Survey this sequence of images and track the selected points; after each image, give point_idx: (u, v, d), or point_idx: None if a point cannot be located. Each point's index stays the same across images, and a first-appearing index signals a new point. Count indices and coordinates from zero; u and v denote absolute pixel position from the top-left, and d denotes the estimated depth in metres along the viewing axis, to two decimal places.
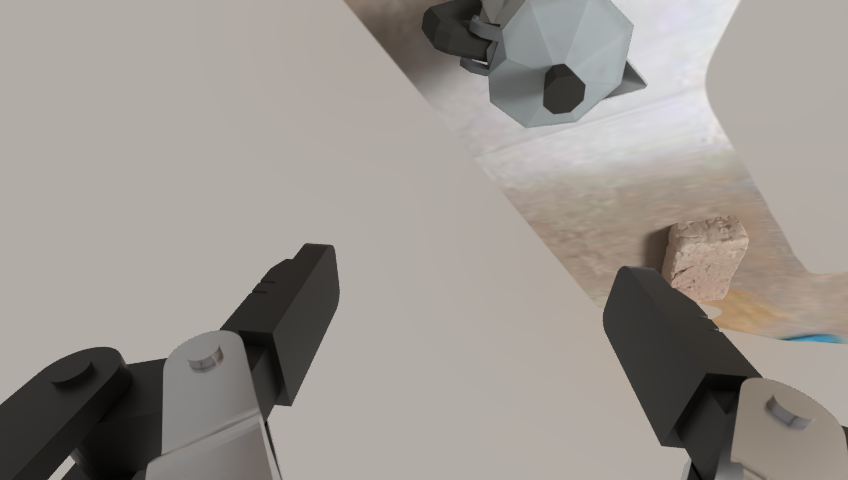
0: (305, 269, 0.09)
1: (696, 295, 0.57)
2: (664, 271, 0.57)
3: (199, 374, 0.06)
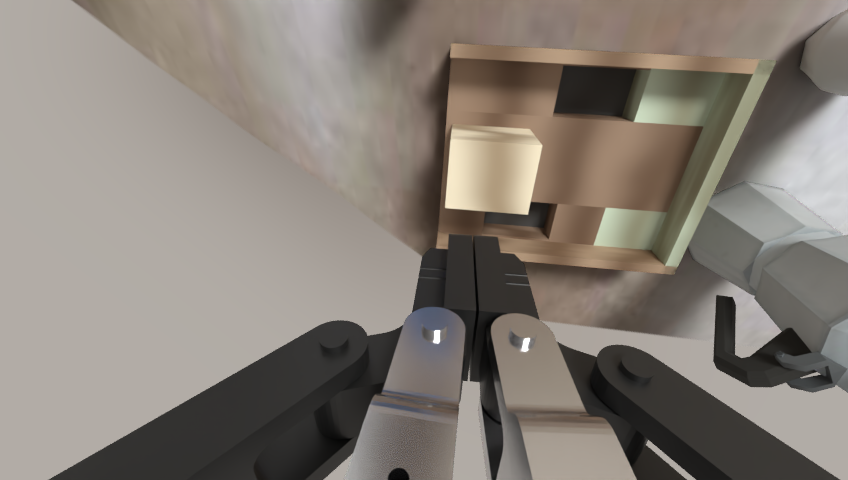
0: (465, 256, 0.09)
1: None
2: None
3: (441, 344, 0.06)
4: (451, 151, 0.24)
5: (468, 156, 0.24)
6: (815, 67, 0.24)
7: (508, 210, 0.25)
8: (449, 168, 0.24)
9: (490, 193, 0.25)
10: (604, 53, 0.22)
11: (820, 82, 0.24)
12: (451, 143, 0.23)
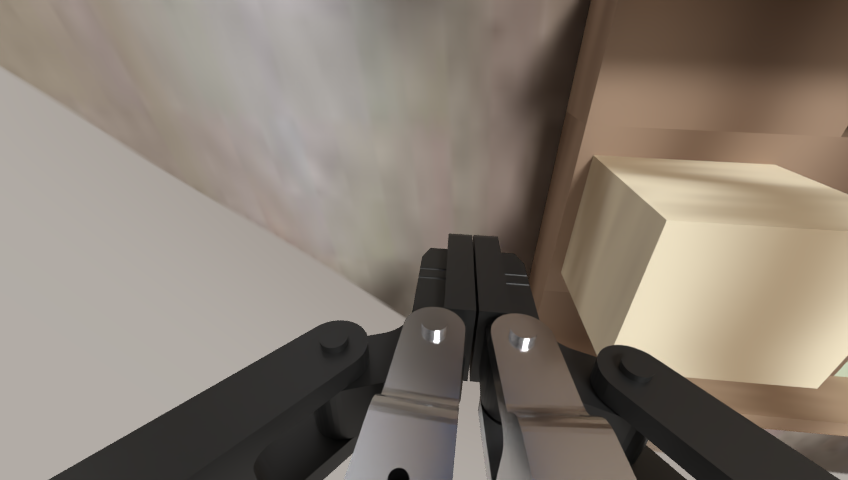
0: (465, 256, 0.09)
1: None
2: None
3: (441, 344, 0.06)
4: (659, 251, 0.08)
5: (707, 263, 0.08)
6: None
7: (769, 379, 0.10)
8: (640, 290, 0.09)
9: (735, 345, 0.10)
10: None
11: None
12: (666, 231, 0.08)
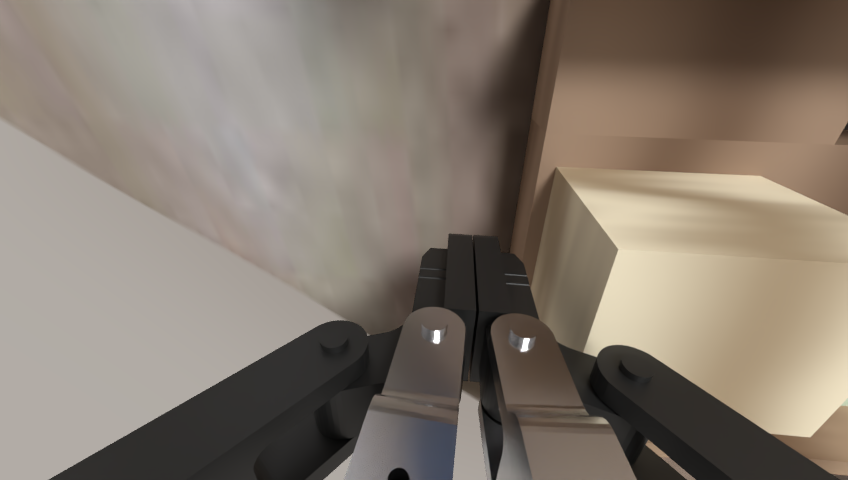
0: (465, 256, 0.09)
1: None
2: None
3: (441, 344, 0.06)
4: (613, 284, 0.07)
5: (670, 298, 0.07)
6: None
7: None
8: (595, 328, 0.08)
9: (711, 389, 0.08)
10: None
11: None
12: (618, 262, 0.07)
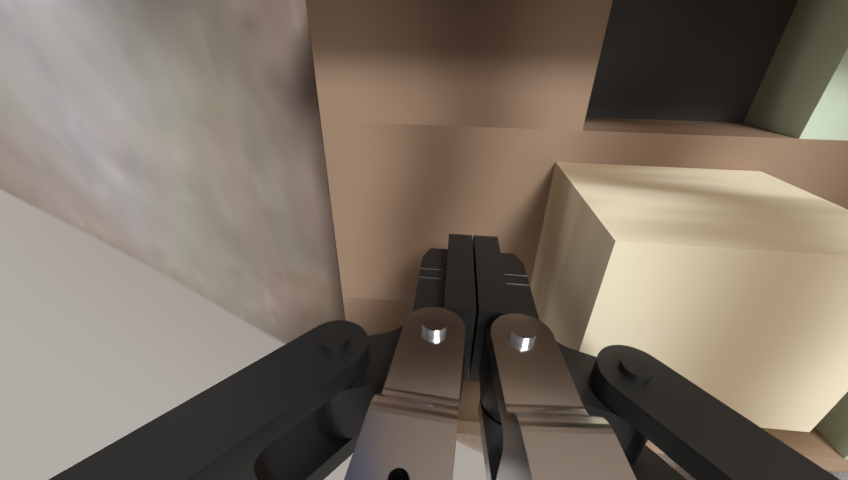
0: (465, 256, 0.09)
1: None
2: None
3: (442, 344, 0.06)
4: (610, 277, 0.07)
5: (668, 290, 0.07)
6: None
7: (752, 421, 0.09)
8: (593, 321, 0.08)
9: (709, 383, 0.08)
10: None
11: None
12: (615, 254, 0.07)
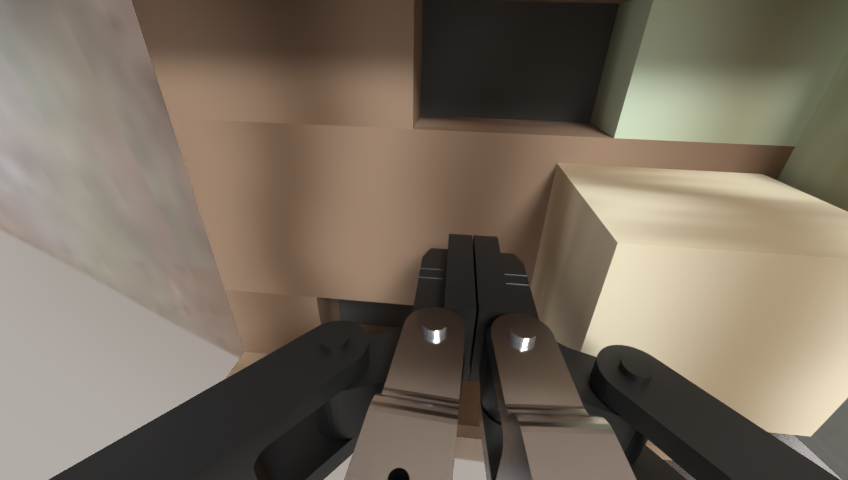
0: (465, 256, 0.09)
1: None
2: None
3: (441, 344, 0.06)
4: (612, 279, 0.07)
5: (670, 293, 0.07)
6: None
7: None
8: (594, 323, 0.08)
9: (710, 386, 0.08)
10: None
11: None
12: (618, 256, 0.07)
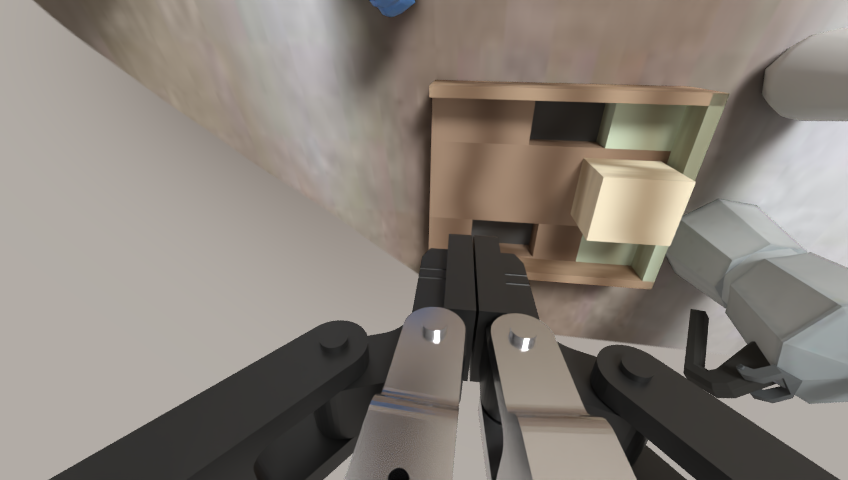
0: (465, 256, 0.09)
1: None
2: None
3: (441, 344, 0.06)
4: (602, 188, 0.25)
5: (619, 192, 0.25)
6: (772, 95, 0.25)
7: (650, 242, 0.26)
8: (597, 204, 0.25)
9: (635, 226, 0.26)
10: (569, 90, 0.24)
11: (778, 109, 0.25)
12: (603, 181, 0.24)
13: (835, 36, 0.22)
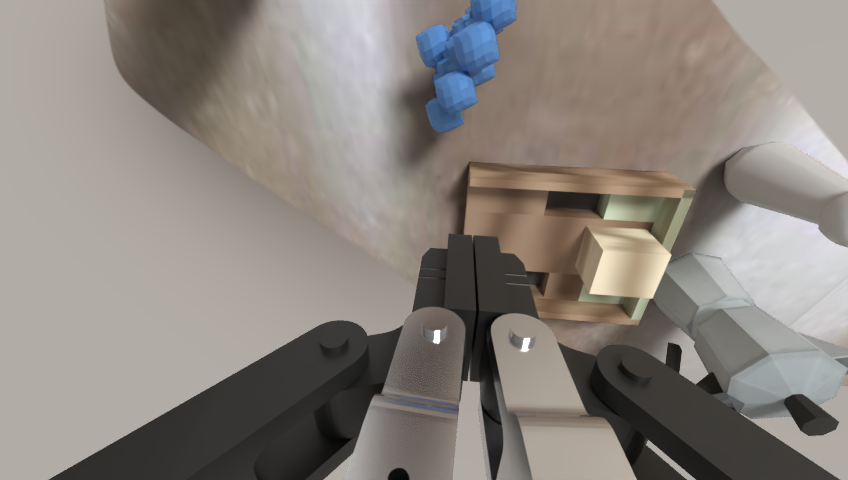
0: (465, 256, 0.09)
1: None
2: None
3: (441, 344, 0.06)
4: (602, 258, 0.33)
5: (614, 261, 0.33)
6: (729, 186, 0.33)
7: (638, 295, 0.34)
8: (598, 268, 0.33)
9: (626, 284, 0.34)
10: (577, 185, 0.32)
11: (734, 195, 0.34)
12: (603, 253, 0.32)
13: (773, 152, 0.30)
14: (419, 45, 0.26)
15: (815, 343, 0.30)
